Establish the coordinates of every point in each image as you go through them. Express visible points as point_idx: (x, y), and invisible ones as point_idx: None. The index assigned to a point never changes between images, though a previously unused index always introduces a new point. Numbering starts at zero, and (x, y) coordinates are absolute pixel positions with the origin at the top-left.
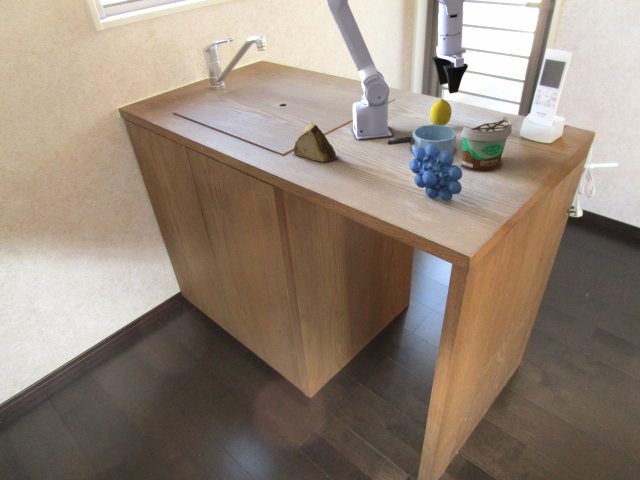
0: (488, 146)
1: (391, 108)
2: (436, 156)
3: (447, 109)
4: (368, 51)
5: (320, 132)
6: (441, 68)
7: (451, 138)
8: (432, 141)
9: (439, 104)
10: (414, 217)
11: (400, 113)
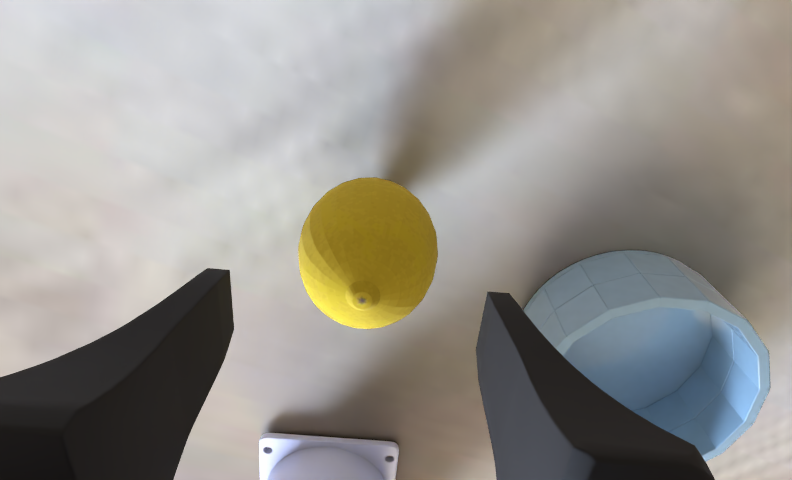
0: None
1: (12, 339)
2: None
3: (428, 255)
4: None
5: None
6: (169, 439)
7: (767, 356)
8: (735, 438)
9: (394, 314)
10: None
11: (101, 321)
